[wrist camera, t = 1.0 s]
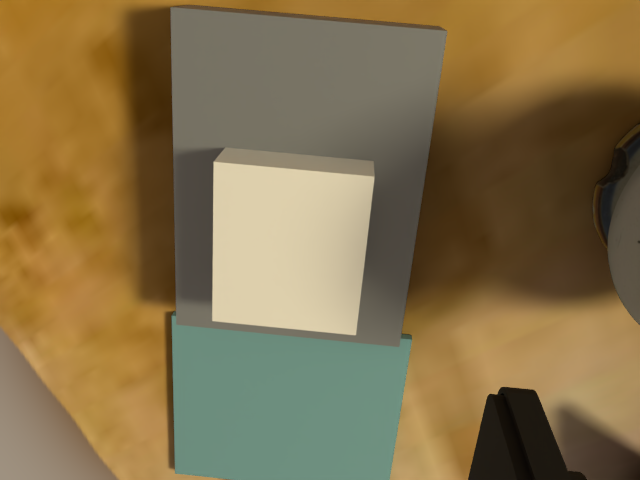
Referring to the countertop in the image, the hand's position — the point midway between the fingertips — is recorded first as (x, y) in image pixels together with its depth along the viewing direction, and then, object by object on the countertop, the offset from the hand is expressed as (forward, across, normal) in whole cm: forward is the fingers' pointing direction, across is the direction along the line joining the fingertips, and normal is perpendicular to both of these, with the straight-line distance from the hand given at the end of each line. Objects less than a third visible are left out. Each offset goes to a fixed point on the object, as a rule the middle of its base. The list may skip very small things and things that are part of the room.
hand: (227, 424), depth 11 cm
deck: (+22, 0, +3) cm, 22 cm away
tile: (+19, 0, +5) cm, 19 cm away
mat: (+22, +1, +18) cm, 28 cm away
